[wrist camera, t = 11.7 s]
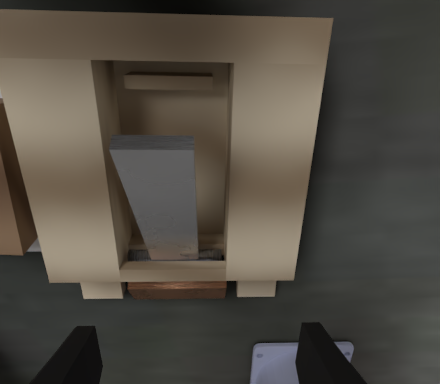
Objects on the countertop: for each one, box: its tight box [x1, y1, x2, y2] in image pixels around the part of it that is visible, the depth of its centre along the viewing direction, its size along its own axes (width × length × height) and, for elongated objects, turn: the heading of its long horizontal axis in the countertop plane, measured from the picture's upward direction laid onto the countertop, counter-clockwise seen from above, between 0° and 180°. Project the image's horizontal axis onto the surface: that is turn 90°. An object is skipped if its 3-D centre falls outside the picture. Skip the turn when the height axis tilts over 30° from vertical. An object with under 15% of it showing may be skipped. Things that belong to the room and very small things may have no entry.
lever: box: [109, 135, 227, 299], centre depth 16 cm, size 15×6×2 cm
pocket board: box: [0, 9, 333, 299], centre depth 18 cm, size 17×13×4 cm
